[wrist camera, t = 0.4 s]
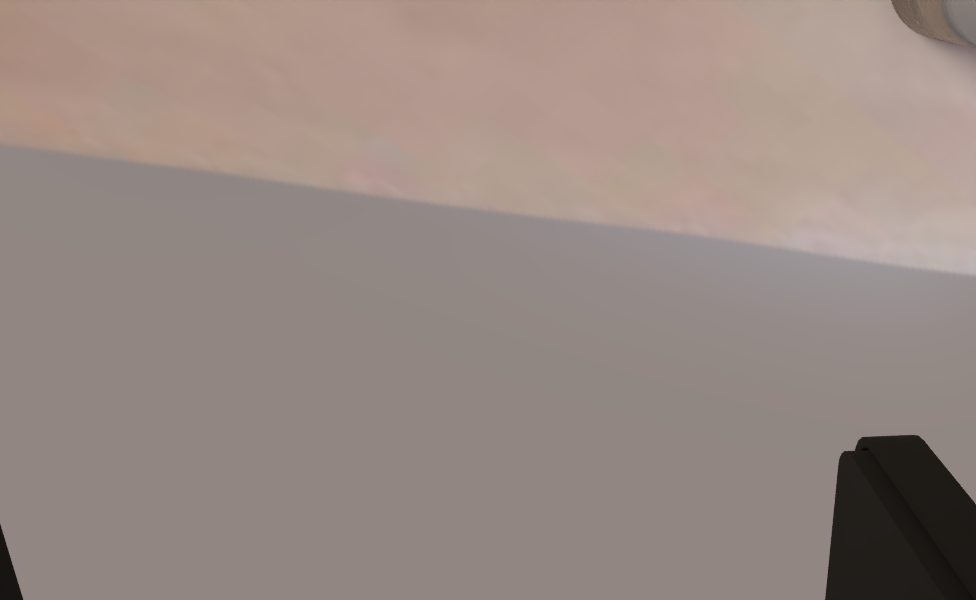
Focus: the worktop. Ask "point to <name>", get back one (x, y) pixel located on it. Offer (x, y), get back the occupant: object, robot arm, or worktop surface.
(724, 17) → the worktop surface
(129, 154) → the worktop surface
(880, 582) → the robot arm
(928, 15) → the metal tin
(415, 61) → the worktop surface
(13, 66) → the worktop surface
